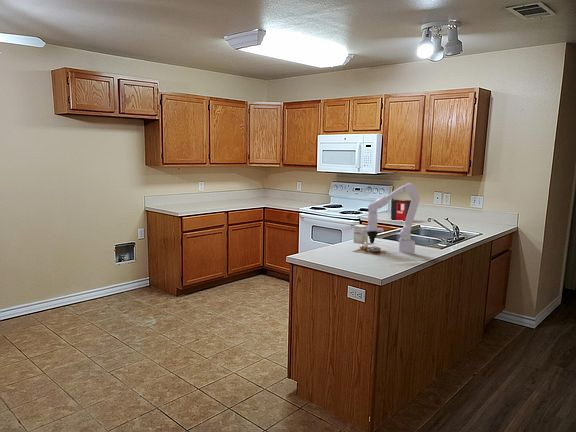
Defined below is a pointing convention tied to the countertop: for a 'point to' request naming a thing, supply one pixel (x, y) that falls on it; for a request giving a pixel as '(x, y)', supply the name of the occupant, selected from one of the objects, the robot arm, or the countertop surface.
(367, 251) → the stand base
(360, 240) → the supplement box
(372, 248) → the capstan dial
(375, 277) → the countertop surface
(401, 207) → the cleaning product box
